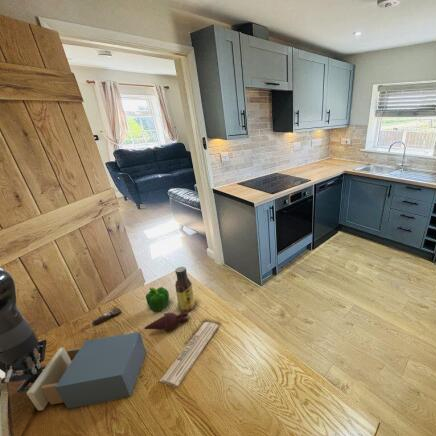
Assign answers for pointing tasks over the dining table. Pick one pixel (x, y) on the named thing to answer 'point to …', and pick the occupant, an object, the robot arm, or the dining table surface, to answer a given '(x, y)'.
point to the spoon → (106, 316)
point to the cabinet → (102, 370)
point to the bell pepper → (157, 298)
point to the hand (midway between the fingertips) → (38, 379)
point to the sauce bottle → (184, 290)
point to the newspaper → (189, 355)
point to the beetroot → (168, 321)
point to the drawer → (49, 379)
